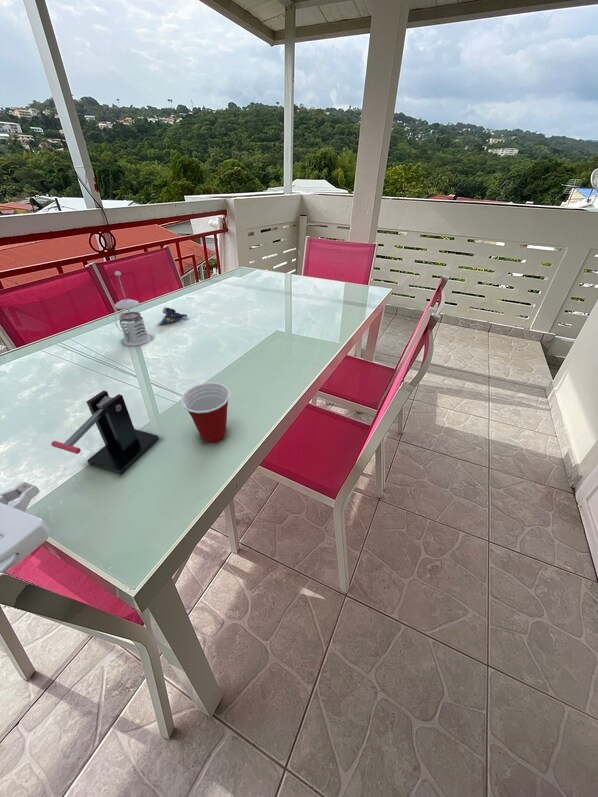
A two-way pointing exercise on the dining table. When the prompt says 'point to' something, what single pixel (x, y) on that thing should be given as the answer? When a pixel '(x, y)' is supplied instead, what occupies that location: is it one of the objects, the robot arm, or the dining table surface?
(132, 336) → the french press
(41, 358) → the dining table surface
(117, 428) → the bracket
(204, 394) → the plastic cup
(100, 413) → the lever
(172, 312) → the snack package
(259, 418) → the dining table surface
